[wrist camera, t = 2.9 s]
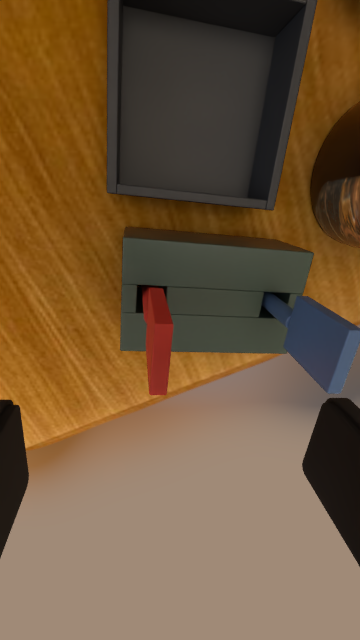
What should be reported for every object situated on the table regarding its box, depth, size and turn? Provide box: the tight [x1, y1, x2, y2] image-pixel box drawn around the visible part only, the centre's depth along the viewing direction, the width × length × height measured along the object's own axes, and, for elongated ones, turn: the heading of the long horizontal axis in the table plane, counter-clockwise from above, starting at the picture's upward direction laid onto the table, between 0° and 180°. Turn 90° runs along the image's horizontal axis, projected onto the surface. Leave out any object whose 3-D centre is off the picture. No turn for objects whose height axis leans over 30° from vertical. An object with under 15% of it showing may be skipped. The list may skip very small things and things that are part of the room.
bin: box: [107, 0, 317, 210], centre depth 19 cm, size 11×11×4 cm
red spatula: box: [141, 285, 174, 395], centre depth 19 cm, size 1×4×14 cm, turn 174°
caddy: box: [120, 227, 314, 354], centre depth 24 cm, size 13×8×6 cm, turn 84°
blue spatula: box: [262, 292, 360, 394], centre depth 21 cm, size 1×4×14 cm, turn 174°
